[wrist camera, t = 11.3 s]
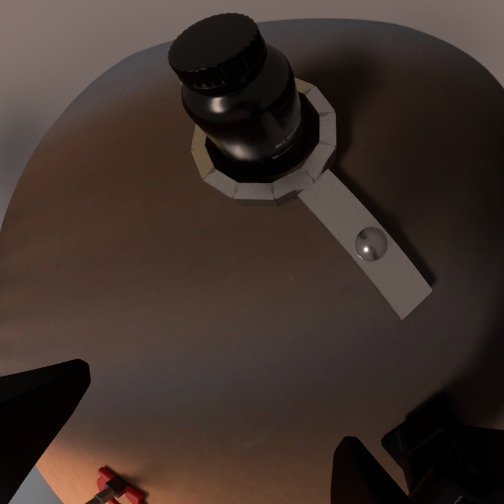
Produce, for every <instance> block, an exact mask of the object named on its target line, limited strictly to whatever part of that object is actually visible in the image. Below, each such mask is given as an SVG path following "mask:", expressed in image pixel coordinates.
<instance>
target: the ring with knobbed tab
mask: <svg viewBox="0 0 504 504" xmlns="http://www.w3.org/2000/svg"><path fill="white" fill-rule="evenodd" d="M294 79H295V83H296V86H297V90H298V94H299V98H300V103H301V105H303V106H306V107H307V104H306V99H305V95H304V92H305V93H307V90H309V89H310V90H311V89H312V88H313V87H315V85H312V84H310V83H307V82H305V81H302V80H300V79H297V78H295V77H294ZM179 83H180V84H181V85H183V83H182V82H181V81H180V82H179ZM310 90H309V92H310ZM309 92H308V93H309ZM308 93H307V94H308ZM215 148H216V145H215V144H214V143H213V142H212V141H211V140H210V138H209V137H208V136H207V135H206V134H205V133H204V132H203V131H202V130H201V129H200V128H199V126H198V125H197V124H196V127H195V132H194V137H193V142H192V147H191V150H192V151H191V152H192V154H193V157H194V159H195V162H196V164H197V167H198V169H199V172H200V174H201V177H202V179H203V180H204V179H205V177H206V176H207V174H208V173H209V171H210V170H211V171H210V172H211V174H212V173H213V172H215V171H214V170H215V169H216V170H218V171H219V172H221V173H222V171H221V169H220V167H219V164H218V162H217V160H216V158H215V155H214V154H215ZM209 174H210V173H209Z"/></svg>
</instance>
